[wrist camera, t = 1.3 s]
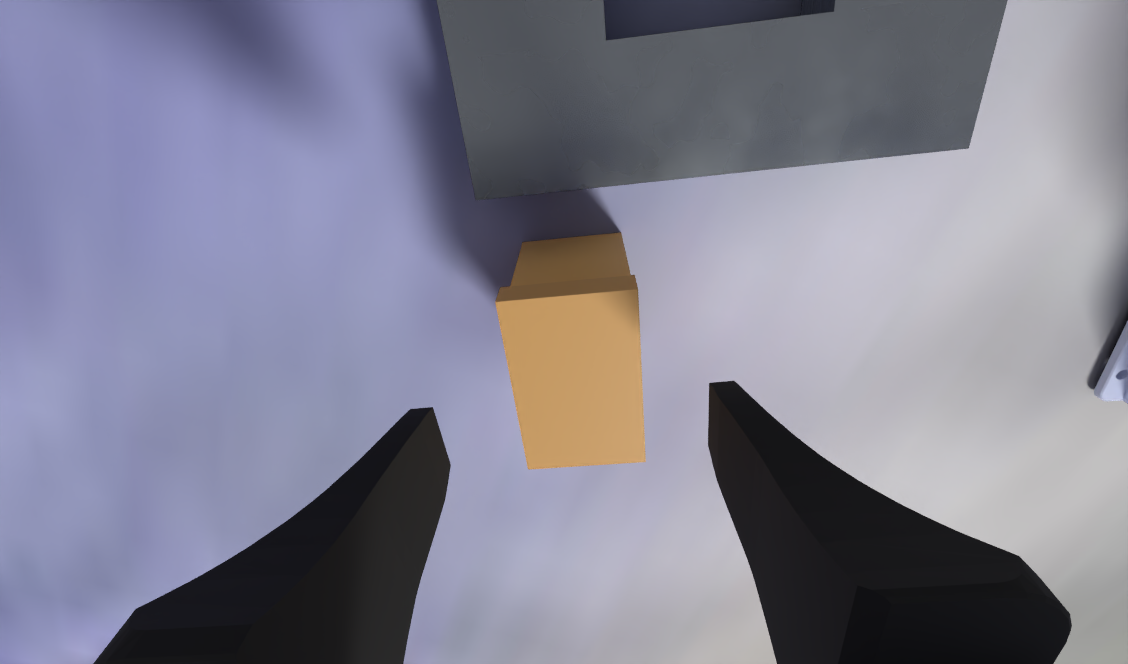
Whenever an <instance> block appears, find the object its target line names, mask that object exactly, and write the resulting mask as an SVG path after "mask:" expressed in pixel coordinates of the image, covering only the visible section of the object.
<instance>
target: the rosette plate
mask: <svg viewBox="0 0 1128 664" xmlns="http://www.w3.org/2000/svg"><path fill="white" fill-rule="evenodd" d="M1006 4H1007V0H802V8H801V16H795V17H787V18H779V19H771V20H764V21H756V22H748V23H740V24H732V25H724V26H716V27H708V28H701V29H693V30H685V31H677V32H669V33H661V34H653V35H645V36H637V37H630V38H622V39H614V40H606V33H605V17H604V1H603V0H437V5H438V10H439V15H440V20H441V25H442V30H443V36H444V41H445V46H446V51H447V56H448V61H449V66H450V71H451V76H452V82H453V87H454V92H455V97H456V102H457V107H458V112H459V117H460V123H461V128H462V133H463V138H464V143H465V148H466V153H467V158H468V163H469V169H470V174H471V179H472V184H473V189H474V194H475V199H476V200H485V199H494V198H504V197H513V196H522V195H532V194H541V193H551V192H560V191H570V190H579V189H589V188H598V187H608V186H617V185H627V184H636V183H646V182H655V181H664V180H674V179H683V178H693V177H702V176H712V175H721V174H731V173H740V172H750V171H759V170H769V169H778V168H787V167H797V166H806V165H816V164H825V163H835V162H844V161H854V160H863V159H873V158H882V157H892V156H901V155H910V154H920V153H929V152H939V151H948V150H958V149H967V148H969V145H970V141H971V137H972V133H973V130H974V126H975V122H976V118H977V114H978V111H979V107H980V103H981V99H982V95H983V92H984V88H985V84H986V80H987V76H988V73H989V69H990V65H991V61H992V57H993V54H994V50H995V46H996V42H997V38H998V35H999V31H1000V27H1001V23H1002V19H1003V15H1004V12H1005V8H1006Z"/></svg>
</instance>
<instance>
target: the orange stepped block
mask: <svg viewBox="0 0 1128 664" xmlns="http://www.w3.org/2000/svg"><path fill="white" fill-rule="evenodd" d="M495 303H496V308H497V313H498V318H499V323H500V328H501V333H502V338H503V344H504V349H505V354H506V359H507V364H508V369H509V374H510V379H511V384H512V390H513V395H514V400H515V405H516V410H517V415H518V420H519V425H520V430H521V436H522V441H523V446H524V451H525V456H526V461H527V466H528V469H543V468H558V467H574V466H589V465H605V464H620V463H636V462H646V460H645V437H644V415H643V392H642V369H641V347H640V324H639V301H638V287H637V283H636V279H635V275H631V274H630V270H629V266H628V261H627V257H626V252H625V248H624V244H623V239H622V235H621V232H620V233H610V234H600V235H589V236H579V237H569V238H559V239H549V240H539V241H529V242H522V246H521V250H520V253H519V257H518V260H517V264H516V267H515V271H514V274H513V278H512V282H511V285H510V286H509V287H500V289H499V292H498V295H497V299H496V302H495Z"/></svg>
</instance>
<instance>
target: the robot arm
mask: <svg viewBox="0 0 1128 664" xmlns="http://www.w3.org/2000/svg"><path fill="white" fill-rule="evenodd" d="M1094 394H1095V396H1097V397H1098V398H1100V399H1101V400H1103V401H1119V400H1123V401H1124V402H1126V403H1128V321H1127V323H1126V325H1125V327H1124V329H1123V331H1122V333H1121V336H1120V338H1119V340H1118V342H1117V344H1116V346H1115V348H1114V350H1113V352H1112V354H1111V356H1110V358H1109V360H1108V362H1107V364H1106V367H1105V369H1104V371H1103V373H1102V375H1101V377H1100V379H1099V381H1098V383H1097V385H1096V387H1095V390H1094ZM708 446H709V450H710V454H711V458H712V463H713V467H714V470H715V474H716V478H717V481H718V484H719V487H720V489H721V492H722V495H723V497H724V500H725V503H726V505H727V508H728V510H729V513H730V515H731V518H732V521H733V523H734V526H735V528H736V531H737V533H738V536H739V539H740V541H741V544H742V546H743V549H744V551H745V554H746V557H747V559H748V562H749V565H750V568H751V571H752V574H753V577H754V580H755V584H756V587H757V591H758V594H759V598H760V602H761V605H762V609H763V612H764V616H765V620H766V623H767V627H768V631H769V635H770V639H771V642H772V646H773V650H774V654H775V658H776V661H777V664H1053V663H1054V662H1055V660H1056V658H1057V657H1058V655H1059V653H1060V652H1061V650H1062V649H1063V647H1064V645H1065V644H1066V642H1067V639H1068V636H1069V634H1070V631H1071V627H1072V625H1071V618H1070V613H1069V612H1068V611H1067V610H1066V609H1065V607H1064V606H1063V605H1062V604H1061V603H1060V601H1059V600H1058V599H1057V598H1056V597H1055V595H1054V594H1053V593H1052V592H1051V591H1050V589H1049V588H1048V587H1047V586H1046V585H1045V583H1044V582H1043V581H1042V580H1041V579H1040V578H1039V576H1038V575H1037V574H1036V573H1035V572H1034V571H1033V570H1032V569H1031V568H1030V567H1029V566H1028V565H1027V564H1026V563H1025V562H1024V561H1023V560H1022V559H1021V558H1020V557H1019V556H1017V555H1015V554H1012V553H1010V552H1007V551H1005V550H1002V549H1000V548H997V547H995V546H992V545H990V544H987V543H985V542H982V541H980V540H977V539H975V538H972V537H970V536H967V535H965V534H962V533H960V532H958V531H955V530H953V529H951V528H949V527H947V526H945V525H942V524H940V523H938V522H936V521H934V520H932V519H929V518H927V517H925V516H923V515H921V514H919V513H917V512H915V511H913V510H911V509H909V508H907V507H905V506H903V505H901V504H899V503H897V502H895V501H894V500H892V499H890V498H888V497H886V496H885V495H883V494H881V493H879V492H877V491H876V490H874V489H872V488H870V487H869V486H867V485H865V484H863V483H862V482H860V481H858V480H857V479H855V478H854V477H852V476H851V475H849V474H847V473H846V472H844V471H843V470H841V469H840V468H838V467H837V466H835V465H834V464H832V463H831V462H829V461H828V460H826V459H825V458H823V457H822V456H821V455H819V454H818V453H816V452H815V451H814V450H813V449H811V448H810V447H809V446H807V445H806V444H805V443H803V442H802V441H801V440H800V439H798V438H797V437H796V436H795V435H793V434H792V433H791V432H790V431H789V430H788V429H786V428H785V427H784V426H783V425H782V424H780V423H779V422H778V421H777V420H776V419H775V418H774V417H772V416H771V415H770V414H769V413H768V412H767V411H766V410H765V409H764V408H763V407H761V406H760V405H759V404H758V403H757V402H756V401H755V400H754V399H753V398H752V397H751V396H750V395H749V394H748V393H747V392H746V391H745V390H743V389H742V388H741V387H740V386H739V385H738V384H737V383H736V382H735V381H727V382H715V383H709V428H708ZM450 466H451V465H450V461H449V458H448V455H447V452H446V448H445V445H444V442H443V439H442V435H441V432H440V429H439V426H438V423H437V419H436V416H435V413H434V410H433V407H430V408H419V409H410V410H409V411H408V412H407V413H406V414H405V415H404V416H403V417H402V418H401V419H400V420H399V421H398V422H397V423H396V424H395V425H394V426H393V427H392V428H391V429H390V430H389V431H388V432H387V433H386V434H385V435H384V436H383V437H382V438H381V439H380V440H379V441H378V442H377V443H376V444H375V445H374V446H373V447H372V448H371V449H370V450H369V451H368V452H367V453H366V454H365V455H364V456H363V457H362V458H361V459H360V460H359V461H358V462H357V463H355V464H354V465H353V466H352V467H351V468H350V469H349V470H348V471H347V472H346V473H344V474H343V475H342V476H341V477H340V478H339V479H338V480H337V481H336V482H335V483H333V484H332V485H331V486H330V487H329V488H328V489H327V490H326V491H324V492H323V493H322V494H321V495H320V496H318V497H317V498H316V499H315V500H313V501H312V502H311V503H310V504H308V505H307V506H306V507H305V508H303V509H302V510H301V511H299V512H298V513H297V514H295V515H294V516H293V517H291V518H290V519H289V520H287V521H286V522H285V523H283V524H282V525H280V526H279V527H277V528H276V529H274V530H273V531H271V532H270V533H269V534H267V535H266V536H264V537H263V538H261V539H260V540H258V541H257V542H255V543H254V544H252V545H251V546H249V547H248V548H246V549H245V550H243V551H241V552H240V553H238V554H237V555H235V556H233V557H232V558H230V559H228V560H227V561H225V562H223V563H222V564H220V565H218V566H217V567H215V568H213V569H211V570H210V571H208V572H206V573H204V574H203V575H201V576H199V577H197V578H195V579H194V580H192V581H190V582H188V583H186V584H184V585H182V586H180V587H178V588H176V589H174V590H172V591H171V592H169V593H167V594H165V595H163V596H161V597H159V598H157V599H155V600H153V601H151V602H149V603H147V604H145V605H143V606H141V607H139V608H137V609H136V610H135V611H134V612H133V613H132V615H131V616H130V617H129V618H128V620H127V621H126V622H125V624H124V625H123V626H122V627H121V629H120V630H119V631H118V633H117V634H116V635H115V636H114V638H113V639H112V640H111V642H110V643H109V644H108V645H107V647H106V648H105V649H104V651H103V652H102V653H101V654H100V656H99V657H98V658H97V660H96V661H95V662H94V664H403V661H404V656H405V650H406V645H407V639H408V634H409V629H410V624H411V619H412V614H413V609H414V604H415V599H416V595H417V591H418V587H419V583H420V580H421V576H422V573H423V570H424V567H425V563H426V560H427V557H428V554H429V551H430V547H431V544H432V541H433V538H434V535H435V531H436V528H437V525H438V522H439V518H440V515H441V512H442V508H443V505H444V501H445V497H446V491H447V485H448V479H449V472H450Z"/></svg>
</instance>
